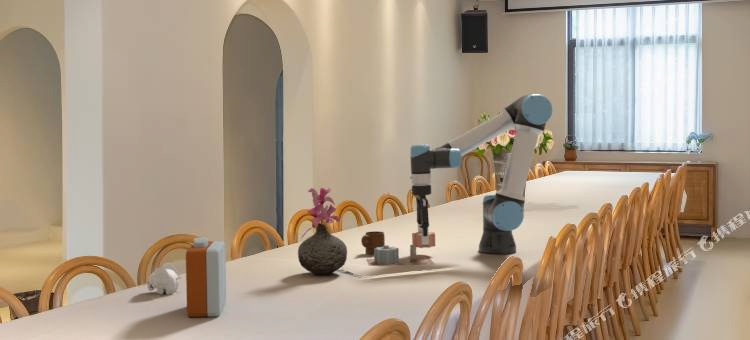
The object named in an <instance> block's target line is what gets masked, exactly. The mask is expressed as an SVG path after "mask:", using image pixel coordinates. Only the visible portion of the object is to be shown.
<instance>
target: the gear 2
mask: <svg viewBox="0 0 750 340" xmlns="http://www.w3.org/2000/svg"><path fill="white" fill-rule="evenodd" d="M428 232H429V244H427V245H422V240H421V232H418V231H417V232H413V233H411V238H412V239H411V240H412V243H411V245H416V248H419V249H423V248H424V249H425V248H428V249H429V248H433V247H436V233H435V232H434V231H428Z"/></svg>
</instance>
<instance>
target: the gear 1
mask: <svg viewBox="0 0 750 340" xmlns="http://www.w3.org/2000/svg"><path fill="white" fill-rule="evenodd" d="M399 250H400V249H399V247H395V246H389V249H383V247H376V248H374V255H373V256H374V258H373V259H374V262H377V263H379V264H380V263H385V264H389V263H397V262H399V257H400V256H399Z"/></svg>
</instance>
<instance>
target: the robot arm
mask: <svg viewBox="0 0 750 340" xmlns="http://www.w3.org/2000/svg"><path fill="white" fill-rule="evenodd" d="M552 115H553V106H552V103H551V101H550V99H548V97H546V96H545V95H543V94H539V93H531V94H526V95H522V96H521V97H519V98H517V99H516V100H514V101H513V102H512V103H510V104H509V105H507V106H505V107H503V108H502V109H501V112H500V113H498V114H497V115H495V116H492V117H491V118H489V119H487V120H485V121H484V122H482V123H481V124H478V125H477V126H475V127H474V128H471V129H469V130H467V131H466V132H464V133H462V134H460V135H459V136H457V137H455V138H454V139H452V140H450V141H449V142H447V143H444V144H443V145H441V146H439V147H436V148H430V145H429V144H414V145H411V147H410V158H409V159H410V171H411V172H410V173H411V175H410V176H409V179H410V180H411V185H412V186H411V195H412V196H417V197H416V201H415V203H416V222H417V232H421V240H422V245H427V244H429V232H430V231H429V227H430V221H429V219H430V218H429V207H428V205H429V201H428V199H427V197H426V196H430V195H431V194H432V185H431V184H432V173H431V172H432V171H431V170H432V169H456V168H460V167H461V165H462V157H463V156H465V155H467V153H470V152H471V151H473V150H475V149H477V148H479V147H480V146H482V145H484V144H486V143H488V142H490V141H491V140H493V139H495V138H498V137H499V136H500V135H502V134H504V133H506V132H507V131H510V130H511V131H512V130H514V131H515V130H516V132H515V136H514V139H513V144H512V147H511V151H510V153H509V158H508V161H507V166H506V169H505V173H504V177H503V181H502V184H501V187H500V189H499V190H498V191H496V192H495V194H486V195H484V196H483V199H482V230H483V231H482V235H481V238H480V241H479V244H478V252H481V253H484V254H495V255H500V254H501V255H504V254H505V255H506V254H513V253H516V252H517V244H516V241H515V238H514V236H513V230H516V229H518V228H520V226H521V225H522V223H523V221H524V219H525V217H524V216H525V213H524V205H525V203H526V198H525V196H524V191H525V187H526V184H527V183H526V182H527V179H528V176H529V172H530V168H531V164H532V161H533V157H534V154H535V150H536V146H537V143H538V139H539V136H540V135H541V134H543V133H544V132H545V128H546V124H547V122H549V120H550V119H551V117H552Z"/></svg>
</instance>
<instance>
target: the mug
mask: <svg viewBox="0 0 750 340" xmlns="http://www.w3.org/2000/svg"><path fill="white" fill-rule="evenodd" d="M385 237H386V236H385V232H384V231H373V230H372V231H366V232H365V234H364V235H362V237H361V245H362V247H363V248H365V255H368V256H369V255H370V256H374V248H376V247H383V246H384V245H386V244H385V243H386V242H385V241H386V239H385Z"/></svg>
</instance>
